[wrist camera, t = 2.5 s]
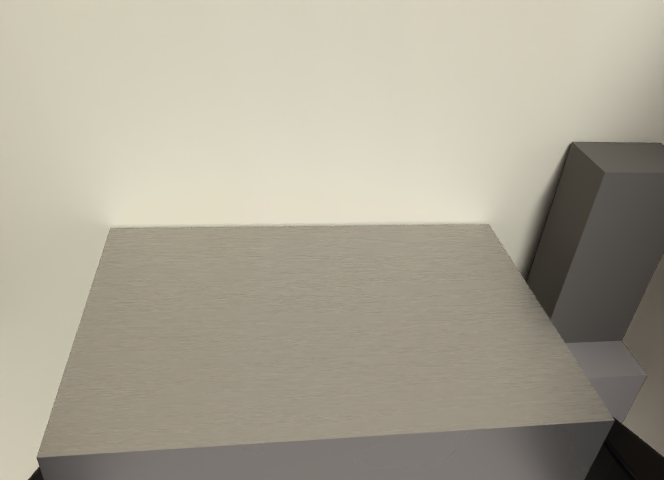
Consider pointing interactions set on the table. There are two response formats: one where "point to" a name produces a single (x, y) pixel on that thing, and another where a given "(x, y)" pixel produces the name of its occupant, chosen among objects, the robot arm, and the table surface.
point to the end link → (318, 361)
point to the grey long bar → (602, 259)
